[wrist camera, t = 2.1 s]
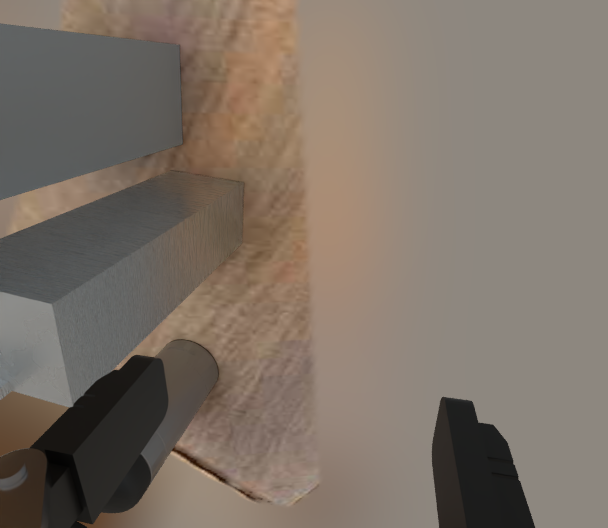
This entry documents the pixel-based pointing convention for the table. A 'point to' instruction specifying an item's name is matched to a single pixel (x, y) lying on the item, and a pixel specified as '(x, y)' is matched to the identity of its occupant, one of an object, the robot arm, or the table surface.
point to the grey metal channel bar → (107, 279)
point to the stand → (82, 104)
